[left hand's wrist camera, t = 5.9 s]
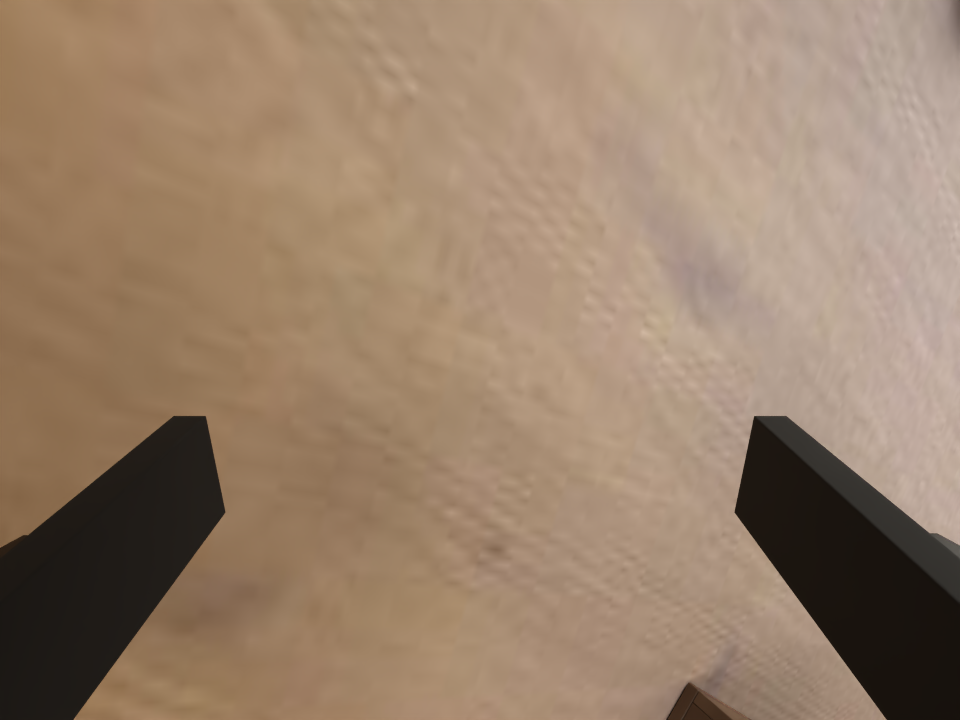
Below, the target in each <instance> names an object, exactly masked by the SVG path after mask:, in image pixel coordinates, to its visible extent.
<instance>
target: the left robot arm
mask: <svg viewBox="0 0 960 720" xmlns="http://www.w3.org/2000/svg"><path fill="white" fill-rule="evenodd" d="M224 514H225V508H224V503H223V498H222V493H221V488H220V483H219V478H218V474H217V469H216V464H215V459H214V454H213V449H212V444H211V439H210V435H209V430H208V425H207V420H206V416H173V417H172V418H171V419H170V420H168V421H167V422H166V423H165V424H164V425H162V426H161V427H160V428H159V429H157V430H156V431H155V432H154V433H153V434H151V435H150V436H149V437H148V438H146V439H145V440H144V441H143V442H142V443H140V444H139V445H138V446H137V447H135V448H134V449H133V450H132V451H131V452H129V453H128V454H127V455H126V456H124V457H123V458H122V459H121V460H120V461H118V462H117V463H116V464H115V465H113V466H112V467H111V468H110V469H109V470H107V471H106V472H105V473H104V474H102V475H101V476H100V477H99V478H98V479H96V480H95V481H94V482H93V483H91V484H90V485H89V486H88V487H87V488H85V489H84V490H83V491H82V492H80V493H79V494H78V495H77V496H76V497H74V498H73V499H72V500H71V501H69V502H68V503H67V504H66V505H65V506H63V507H62V508H61V509H60V510H58V511H57V512H56V513H55V514H54V515H52V516H51V517H50V518H49V519H47V520H46V521H45V522H44V523H43V524H41V525H40V526H39V527H38V528H36V529H35V530H34V531H33V532H32V533H30V534H29V535H23V536H21V537H19V538H18V539H16V540H14V541H12V542H10V543H8V544H7V545H5V546H3V547H1V548H0V720H73V719H74V718H75V717H76V715H77V714H78V712H79V711H80V710H81V708H82V707H83V706H84V704H85V703H86V702H87V700H88V699H89V697H90V696H91V695H92V693H93V692H94V691H95V689H96V688H97V687H98V685H99V684H100V682H101V681H102V680H103V678H104V677H105V676H106V674H107V673H108V672H109V670H110V669H111V667H112V666H113V665H114V663H115V662H116V661H117V659H118V658H119V657H120V655H121V654H122V653H123V651H124V650H125V648H126V647H127V646H128V644H129V643H130V642H131V640H132V639H133V638H134V636H135V635H136V633H137V632H138V631H139V629H140V628H141V627H142V625H143V624H144V623H145V621H146V620H147V618H148V617H149V616H150V614H151V613H152V612H153V610H154V609H155V608H156V606H157V605H158V603H159V602H160V601H161V599H162V598H163V597H164V595H165V594H166V593H167V591H168V590H169V589H170V587H171V586H172V584H173V583H174V582H175V580H176V579H177V578H178V576H179V575H180V574H181V572H182V571H183V569H184V568H185V567H186V565H187V564H188V563H189V561H190V560H191V559H192V557H193V556H194V554H195V553H196V552H197V550H198V549H199V548H200V546H201V545H202V544H203V542H204V541H205V539H206V538H207V537H208V535H209V534H210V533H211V531H212V530H213V529H214V527H215V526H216V524H217V523H218V522H219V520H220V519H221V518H222V516H223V515H224ZM735 514H736V515H737V516H738V518H739V519H740V520H741V522H742V523H743V524H744V526H745V527H746V529H747V530H748V531H749V533H750V534H751V535H752V537H753V538H754V539H755V541H756V542H757V544H758V545H759V546H760V548H761V549H762V550H763V552H764V553H765V554H766V556H767V557H768V559H769V560H770V561H771V563H772V564H773V565H774V567H775V568H776V569H777V571H778V572H779V574H780V575H781V576H782V578H783V579H784V580H785V582H786V583H787V584H788V586H789V587H790V589H791V590H792V591H793V593H794V594H795V595H796V597H797V598H798V599H799V601H800V602H801V603H802V605H803V606H804V608H805V609H806V610H807V612H808V613H809V614H810V616H811V617H812V618H813V620H814V621H815V623H816V624H817V625H818V627H819V628H820V629H821V631H822V632H823V633H824V635H825V636H826V638H827V639H828V640H829V642H830V643H831V644H832V646H833V647H834V648H835V650H836V651H837V653H838V654H839V655H840V657H841V658H842V659H843V661H844V662H845V663H846V665H847V666H848V667H849V669H850V670H851V672H852V673H853V674H854V676H855V677H856V678H857V680H858V681H859V682H860V684H861V685H862V687H863V688H864V689H865V691H866V692H867V693H868V695H869V696H870V697H871V699H872V700H873V702H874V703H875V704H876V706H877V707H878V708H879V710H880V711H881V712H882V714H883V715H884V717H885V718H886V719H887V720H960V546H959V545H958V544H956V543H954V542H952V541H950V540H948V539H947V538H945V537H943V536H941V535H939V534H937V533H928V532H927V531H926V530H925V529H924V528H922V527H921V526H920V525H919V524H917V523H916V522H915V521H914V520H913V519H911V518H910V517H909V516H908V515H906V514H905V513H904V512H903V511H902V510H900V509H899V508H898V507H897V506H895V505H894V504H893V503H892V502H891V501H889V500H888V499H887V498H886V497H884V496H883V495H882V494H881V493H880V492H878V491H877V490H876V489H875V488H873V487H872V486H871V485H870V484H869V483H867V482H866V481H865V480H864V479H862V478H861V477H860V476H859V475H858V474H856V473H855V472H854V471H853V470H851V469H850V468H849V467H848V466H847V465H845V464H844V463H843V462H842V461H840V460H839V459H838V458H837V457H836V456H834V455H833V454H832V453H831V452H829V451H828V450H827V449H826V448H825V447H823V446H822V445H821V444H820V443H818V442H817V441H816V440H815V439H814V438H812V437H811V436H810V435H809V434H807V433H806V432H805V431H804V430H803V429H801V428H800V427H799V426H798V425H796V424H795V423H794V422H793V421H792V420H790V419H789V418H788V417H787V416H754V420H753V425H752V430H751V435H750V439H749V444H748V449H747V454H746V459H745V464H744V469H743V474H742V478H741V483H740V488H739V493H738V498H737V503H736V508H735Z"/></svg>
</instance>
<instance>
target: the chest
mask: <svg viewBox="0 0 960 720" xmlns="http://www.w3.org/2000/svg"><path fill="white" fill-rule="evenodd" d="M668 720H751V719H749V718H747V717H746V716H744V715H743V714H741V713H739V712H738V711H736V710H734V709H733V708H731V707H729V706H728V705H726V704H724V703H723V702H721V701H719V700H718V699H716V698H714V697H713V696H711V695H710V694H708V693H706V692H705V691H703V690H701V689H700V688H698V687H696V686H695V685H693V684H691V683H688V685H687V686H686V688H685V690H684V692H683V693H682V695H681V697H680V699H679V700H678V702H677V704H676V706H675V707H674V709H673V711H672V713H671V714H670V716H669V718H668Z"/></svg>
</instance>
